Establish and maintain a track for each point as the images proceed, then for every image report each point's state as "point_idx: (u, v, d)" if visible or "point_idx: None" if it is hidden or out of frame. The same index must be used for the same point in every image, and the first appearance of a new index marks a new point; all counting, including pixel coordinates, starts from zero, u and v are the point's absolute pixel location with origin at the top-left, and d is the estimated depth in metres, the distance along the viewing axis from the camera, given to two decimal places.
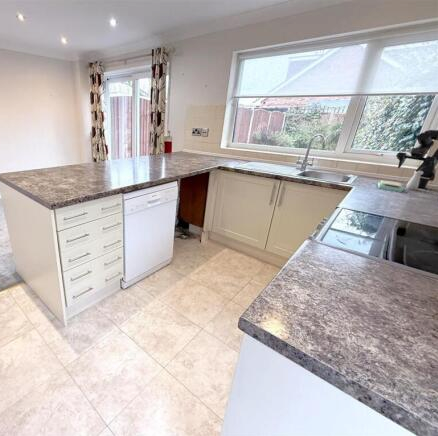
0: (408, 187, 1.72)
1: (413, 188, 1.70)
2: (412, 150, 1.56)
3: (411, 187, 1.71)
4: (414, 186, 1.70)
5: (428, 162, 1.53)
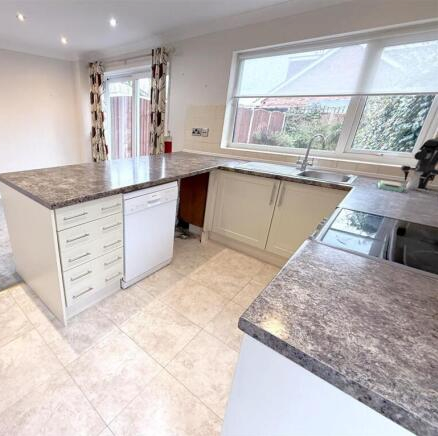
0: (408, 187, 1.72)
1: (413, 188, 1.70)
2: (420, 169, 1.62)
3: (411, 187, 1.71)
4: (414, 186, 1.70)
5: None
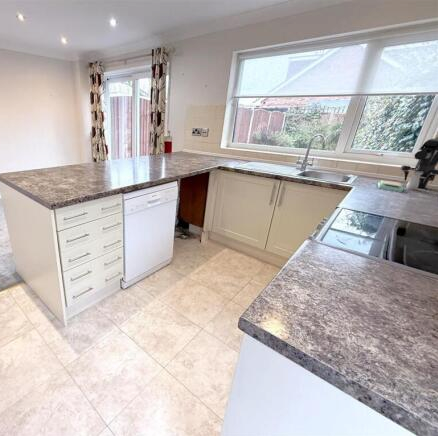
0: (408, 187, 1.72)
1: (413, 188, 1.70)
2: (420, 169, 1.62)
3: (411, 187, 1.71)
4: (414, 186, 1.70)
5: None
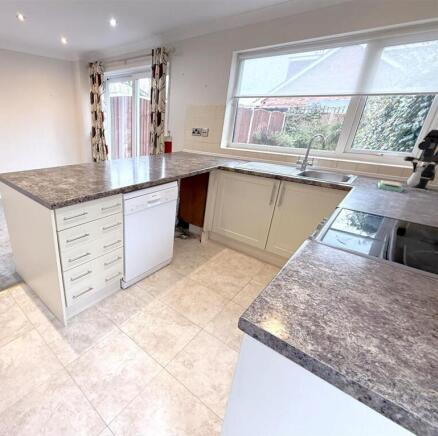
0: (409, 183, 1.71)
1: (414, 184, 1.70)
2: (424, 160, 1.59)
3: (412, 183, 1.70)
4: (415, 182, 1.69)
5: (433, 165, 1.62)
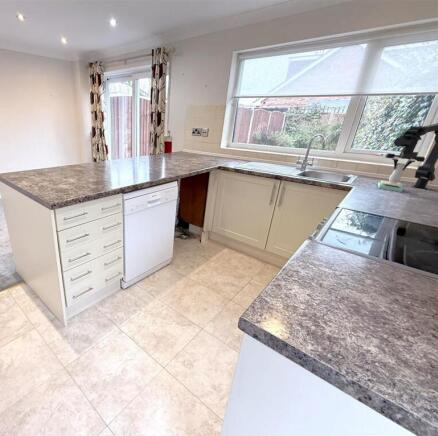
0: (390, 180, 1.71)
1: (395, 181, 1.70)
2: (404, 156, 1.60)
3: (393, 180, 1.70)
4: (396, 179, 1.69)
5: (413, 161, 1.62)
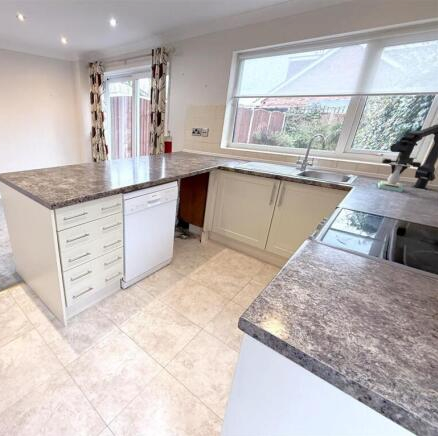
0: (389, 181, 1.72)
1: (394, 182, 1.70)
2: (400, 162, 1.61)
3: (392, 181, 1.70)
4: (395, 180, 1.69)
5: None
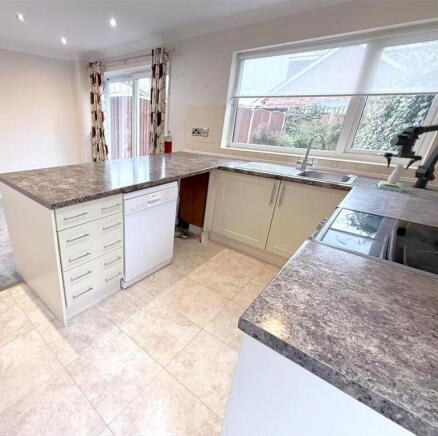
0: (389, 181, 1.72)
1: (394, 182, 1.70)
2: (401, 156, 1.64)
3: (392, 181, 1.70)
4: (395, 180, 1.69)
5: None
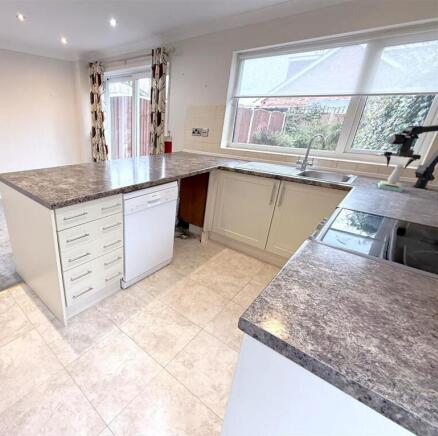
0: (389, 181, 1.72)
1: (394, 182, 1.70)
2: (400, 154, 1.67)
3: (392, 181, 1.70)
4: (395, 180, 1.69)
5: None
